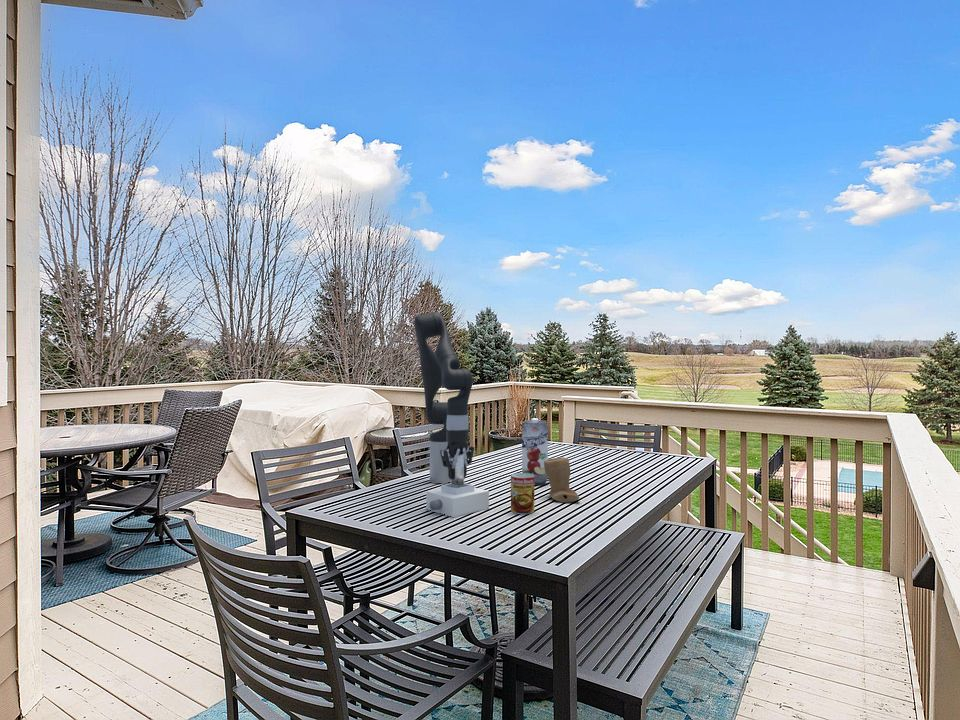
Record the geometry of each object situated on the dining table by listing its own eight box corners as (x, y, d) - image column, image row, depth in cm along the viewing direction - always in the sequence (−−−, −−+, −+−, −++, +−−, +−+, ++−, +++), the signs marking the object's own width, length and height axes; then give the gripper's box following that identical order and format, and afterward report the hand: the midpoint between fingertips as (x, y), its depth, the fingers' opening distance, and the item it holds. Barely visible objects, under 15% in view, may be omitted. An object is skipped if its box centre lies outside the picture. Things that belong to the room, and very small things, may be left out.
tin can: (458, 481, 195) (458, 452, 195) (466, 483, 191) (466, 454, 192) (448, 483, 192) (448, 454, 192) (457, 485, 188) (457, 455, 188)
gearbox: (461, 501, 202) (461, 479, 202) (488, 508, 192) (488, 485, 192) (419, 510, 189) (419, 487, 189) (446, 519, 179) (446, 493, 179)
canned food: (510, 513, 185) (510, 477, 185) (510, 507, 193) (510, 472, 193) (534, 514, 185) (534, 477, 185) (533, 508, 193) (533, 473, 193)
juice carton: (522, 481, 237) (522, 416, 237) (547, 481, 236) (547, 417, 236) (521, 485, 228) (521, 418, 229) (548, 486, 227) (547, 419, 228)
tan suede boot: (542, 493, 214) (542, 454, 214) (574, 494, 213) (574, 454, 214) (546, 503, 199) (545, 461, 199) (579, 504, 198) (579, 461, 198)
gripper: (465, 425, 199) (465, 474, 199) (434, 428, 189) (434, 479, 189) (480, 427, 194) (480, 477, 194) (448, 430, 184) (448, 483, 184)
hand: (457, 478), depth 192 cm, fingers closed on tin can, 4 cm apart
